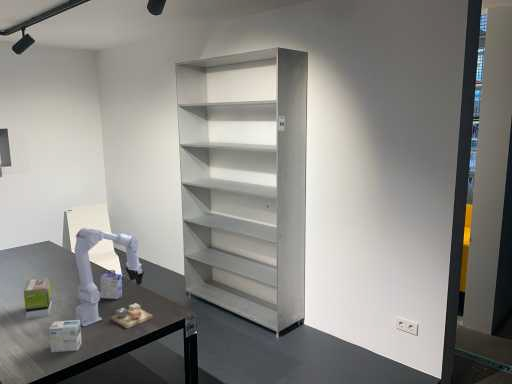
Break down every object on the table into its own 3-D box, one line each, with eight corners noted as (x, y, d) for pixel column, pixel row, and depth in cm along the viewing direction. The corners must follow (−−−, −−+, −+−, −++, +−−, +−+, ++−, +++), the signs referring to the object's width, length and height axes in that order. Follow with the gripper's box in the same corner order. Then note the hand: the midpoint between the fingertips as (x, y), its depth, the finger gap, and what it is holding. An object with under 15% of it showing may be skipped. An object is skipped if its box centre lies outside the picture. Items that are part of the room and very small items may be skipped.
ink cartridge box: (122, 295, 230) (122, 270, 228) (118, 299, 224) (117, 273, 222) (105, 294, 231) (104, 269, 229) (100, 298, 226) (99, 272, 224)
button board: (126, 328, 193) (126, 325, 193) (111, 319, 201) (111, 316, 201) (152, 318, 204) (152, 315, 203) (136, 310, 212) (136, 307, 212)
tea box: (30, 306, 215) (28, 279, 213) (52, 304, 219) (50, 276, 216) (25, 319, 201) (23, 290, 199) (49, 316, 205) (46, 287, 202)
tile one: (134, 318, 197) (134, 313, 197) (129, 316, 200) (129, 311, 200) (141, 316, 200) (141, 311, 200) (136, 313, 203) (136, 308, 203)
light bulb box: (82, 342, 180) (80, 319, 179) (78, 351, 174) (76, 326, 172) (55, 344, 179) (53, 320, 177) (50, 353, 172) (48, 328, 170)
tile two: (133, 312, 204) (133, 307, 204) (128, 310, 206) (128, 305, 206) (140, 310, 207) (140, 305, 206) (135, 307, 209) (135, 302, 209)
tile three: (120, 317, 199) (120, 312, 198) (115, 315, 201) (115, 310, 201) (128, 314, 202) (127, 309, 201) (123, 312, 204) (123, 307, 204)
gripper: (146, 259, 216) (149, 283, 219) (133, 252, 227) (136, 275, 230) (133, 263, 211) (136, 288, 215) (121, 256, 222) (124, 279, 226)
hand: (135, 282), depth 222 cm, fingers open, 7 cm apart
